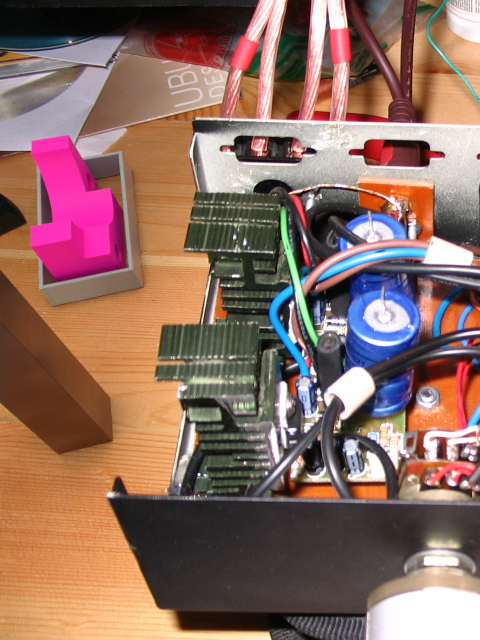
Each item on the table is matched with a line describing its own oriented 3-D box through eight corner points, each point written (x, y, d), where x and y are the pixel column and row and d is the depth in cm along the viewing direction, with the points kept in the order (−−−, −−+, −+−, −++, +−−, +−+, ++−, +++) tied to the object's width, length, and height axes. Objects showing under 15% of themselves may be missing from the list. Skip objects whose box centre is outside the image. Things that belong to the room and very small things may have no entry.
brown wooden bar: (57, 454, 73) (-130, 288, 51) (56, 409, 76) (-124, 231, 53) (113, 440, 74) (-48, 271, 52) (109, 396, 77) (-45, 216, 54)
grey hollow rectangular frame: (52, 306, 82) (38, 289, 79) (49, 185, 90) (36, 166, 87) (143, 286, 83) (132, 269, 81) (131, 169, 92) (121, 150, 89)
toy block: (127, 280, 84) (97, 234, 77) (66, 292, 83) (30, 246, 76) (120, 180, 91) (92, 130, 84) (63, 190, 90) (31, 140, 83)
